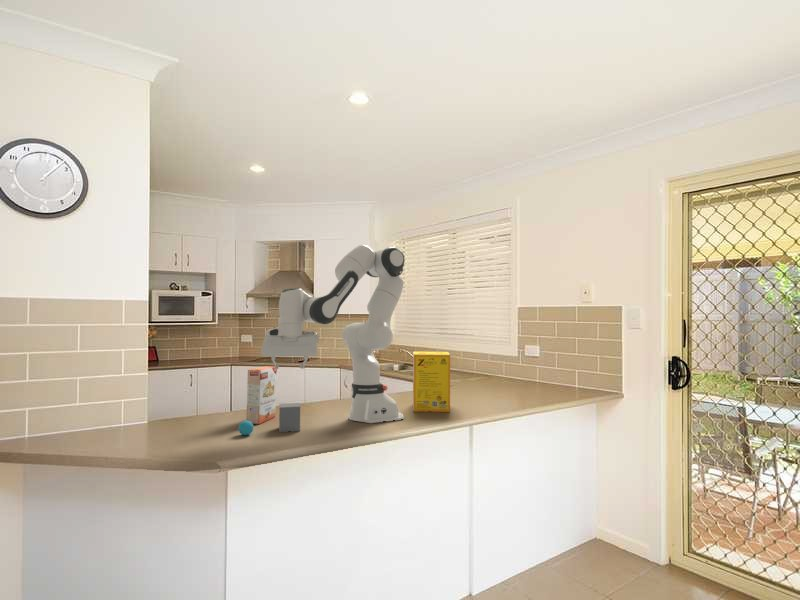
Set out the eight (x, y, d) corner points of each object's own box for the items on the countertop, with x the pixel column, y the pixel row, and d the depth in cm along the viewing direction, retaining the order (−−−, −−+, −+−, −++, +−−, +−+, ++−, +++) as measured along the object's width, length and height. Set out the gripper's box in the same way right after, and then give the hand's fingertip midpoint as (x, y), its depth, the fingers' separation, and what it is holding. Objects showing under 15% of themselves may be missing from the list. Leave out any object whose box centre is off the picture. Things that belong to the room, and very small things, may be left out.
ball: (253, 432, 167) (253, 418, 167) (253, 436, 162) (253, 421, 162) (238, 433, 166) (239, 419, 166) (237, 437, 161) (238, 422, 161)
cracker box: (260, 425, 179) (260, 370, 180) (245, 424, 180) (246, 369, 181) (276, 417, 193) (277, 366, 193) (263, 416, 194) (264, 365, 194)
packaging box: (413, 404, 222) (413, 351, 223) (447, 404, 222) (447, 351, 222) (412, 411, 206) (413, 354, 207) (450, 411, 205) (450, 354, 206)
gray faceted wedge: (298, 426, 177) (299, 402, 177) (299, 430, 170) (300, 406, 170) (279, 427, 175) (279, 403, 175) (279, 432, 168) (279, 407, 168)
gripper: (318, 331, 180) (317, 367, 179) (262, 330, 175) (261, 367, 174) (319, 331, 174) (318, 369, 173) (262, 331, 169) (260, 369, 168)
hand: (289, 368), depth 174 cm, fingers open, 8 cm apart
